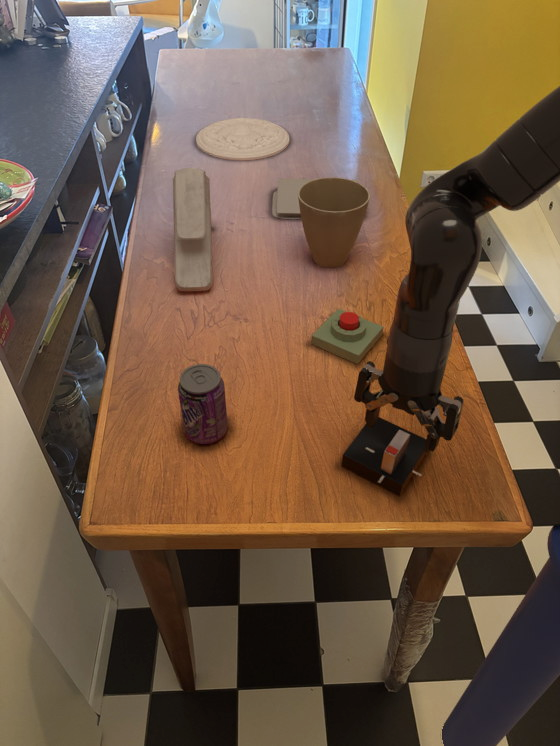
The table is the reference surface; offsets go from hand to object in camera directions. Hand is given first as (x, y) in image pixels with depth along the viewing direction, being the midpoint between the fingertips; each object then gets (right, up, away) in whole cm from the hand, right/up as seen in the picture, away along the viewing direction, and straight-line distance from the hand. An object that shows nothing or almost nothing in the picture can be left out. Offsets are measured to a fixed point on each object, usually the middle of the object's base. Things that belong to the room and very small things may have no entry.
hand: (399, 436), depth 85 cm
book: (-7, +52, +68) cm, 86 cm away
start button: (-4, +18, +28) cm, 33 cm away
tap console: (0, -5, +9) cm, 10 cm away
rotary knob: (0, -4, +5) cm, 7 cm away
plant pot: (-6, +34, +50) cm, 61 cm away
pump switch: (-4, +15, +30) cm, 34 cm away
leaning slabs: (-36, +35, +51) cm, 71 cm away
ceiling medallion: (-28, +79, +96) cm, 128 cm away
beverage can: (-29, -1, +14) cm, 32 cm away
